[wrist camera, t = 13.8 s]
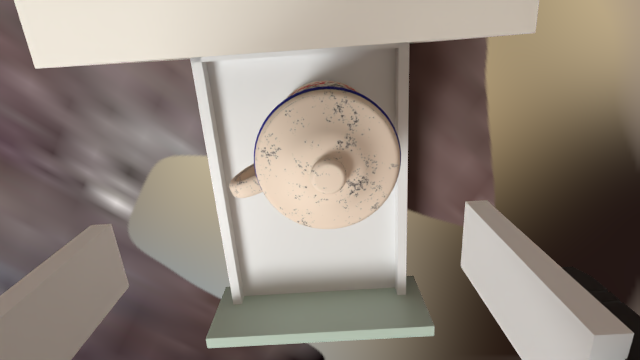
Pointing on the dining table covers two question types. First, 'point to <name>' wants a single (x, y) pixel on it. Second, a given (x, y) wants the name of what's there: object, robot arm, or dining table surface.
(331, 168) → the teacup with lid
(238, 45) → the housing
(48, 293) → the robot arm
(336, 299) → the tray
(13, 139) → the dining table surface
